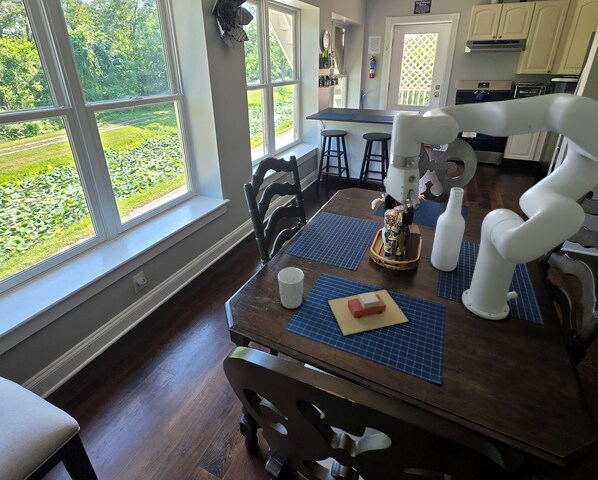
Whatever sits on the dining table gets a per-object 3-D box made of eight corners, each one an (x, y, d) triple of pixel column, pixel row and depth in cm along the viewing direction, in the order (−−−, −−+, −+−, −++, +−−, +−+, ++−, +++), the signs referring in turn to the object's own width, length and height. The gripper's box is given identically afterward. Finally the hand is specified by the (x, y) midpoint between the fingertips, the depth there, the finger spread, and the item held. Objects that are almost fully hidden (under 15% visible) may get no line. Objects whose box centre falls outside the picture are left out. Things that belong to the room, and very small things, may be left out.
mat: (385, 289, 105) (385, 289, 105) (408, 321, 93) (408, 320, 93) (327, 301, 101) (327, 300, 101) (344, 335, 89) (344, 335, 88)
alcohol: (450, 257, 121) (465, 184, 110) (460, 272, 113) (477, 194, 102) (427, 257, 122) (439, 184, 110) (435, 272, 114) (449, 194, 102)
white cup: (282, 312, 97) (281, 285, 93) (276, 295, 104) (275, 269, 100) (307, 307, 99) (306, 280, 95) (300, 290, 106) (299, 265, 102)
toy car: (377, 301, 100) (378, 289, 98) (385, 313, 96) (386, 300, 94) (347, 307, 98) (348, 295, 96) (353, 319, 94) (354, 306, 92)
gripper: (436, 168, 79) (426, 229, 86) (399, 150, 94) (393, 202, 101) (409, 171, 77) (401, 233, 84) (376, 152, 93) (372, 205, 100)
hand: (397, 216), depth 93 cm, fingers open, 9 cm apart
